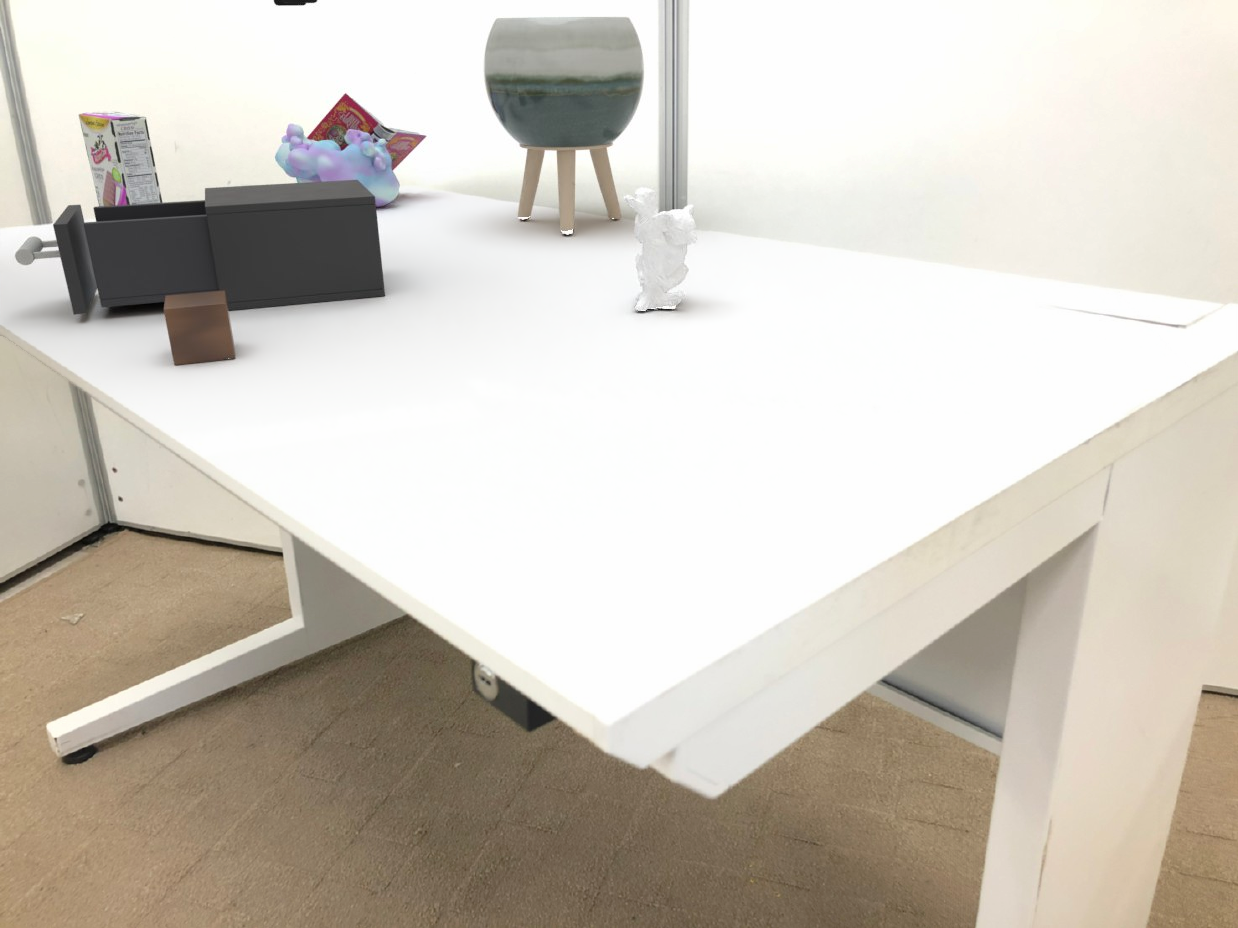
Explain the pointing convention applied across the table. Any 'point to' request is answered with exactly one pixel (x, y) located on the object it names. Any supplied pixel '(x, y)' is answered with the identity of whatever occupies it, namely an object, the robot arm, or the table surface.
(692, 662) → the table surface
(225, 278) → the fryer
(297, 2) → the robot arm
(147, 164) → the candy bar box
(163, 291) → the drawer
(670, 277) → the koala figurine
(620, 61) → the planter
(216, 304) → the block
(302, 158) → the pastel bubbly blob
